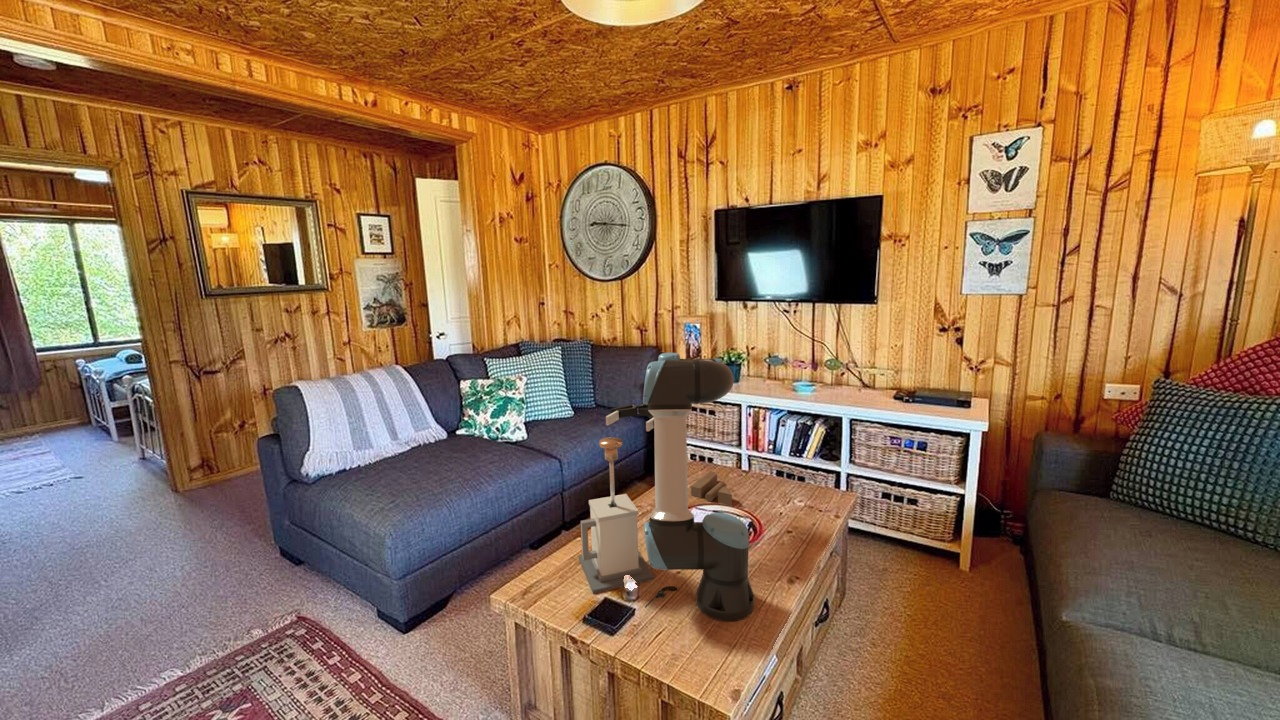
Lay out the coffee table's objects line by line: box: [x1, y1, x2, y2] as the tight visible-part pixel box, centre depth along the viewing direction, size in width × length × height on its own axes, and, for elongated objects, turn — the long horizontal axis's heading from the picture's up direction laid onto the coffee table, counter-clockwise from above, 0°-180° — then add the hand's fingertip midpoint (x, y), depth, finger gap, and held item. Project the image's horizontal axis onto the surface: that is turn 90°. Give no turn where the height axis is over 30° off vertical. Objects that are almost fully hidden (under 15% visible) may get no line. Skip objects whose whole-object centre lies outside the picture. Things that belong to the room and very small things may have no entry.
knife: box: [644, 586, 678, 609], centre depth 137 cm, size 14×4×1 cm, turn 146°
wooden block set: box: [690, 470, 733, 507], centre depth 199 cm, size 17×6×18 cm
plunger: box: [598, 436, 623, 508], centre depth 146 cm, size 6×6×23 cm
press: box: [580, 493, 642, 582], centre depth 149 cm, size 12×16×19 cm
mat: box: [578, 550, 655, 594], centre depth 151 cm, size 18×18×1 cm
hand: (626, 423), depth 151 cm, fingers open, 13 cm apart
